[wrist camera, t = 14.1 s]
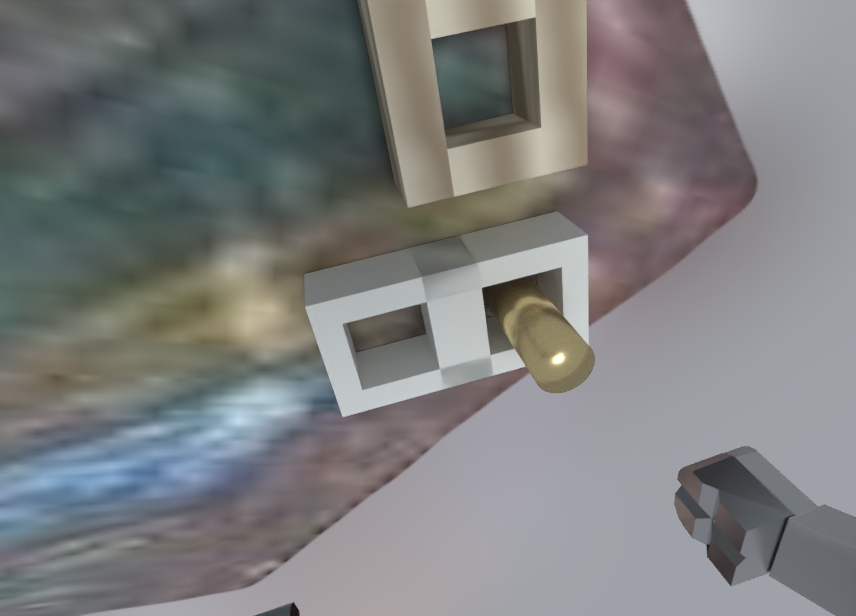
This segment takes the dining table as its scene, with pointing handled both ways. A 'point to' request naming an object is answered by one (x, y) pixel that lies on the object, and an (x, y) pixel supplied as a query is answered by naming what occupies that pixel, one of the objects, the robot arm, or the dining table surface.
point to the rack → (441, 308)
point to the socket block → (492, 138)
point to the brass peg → (540, 334)
